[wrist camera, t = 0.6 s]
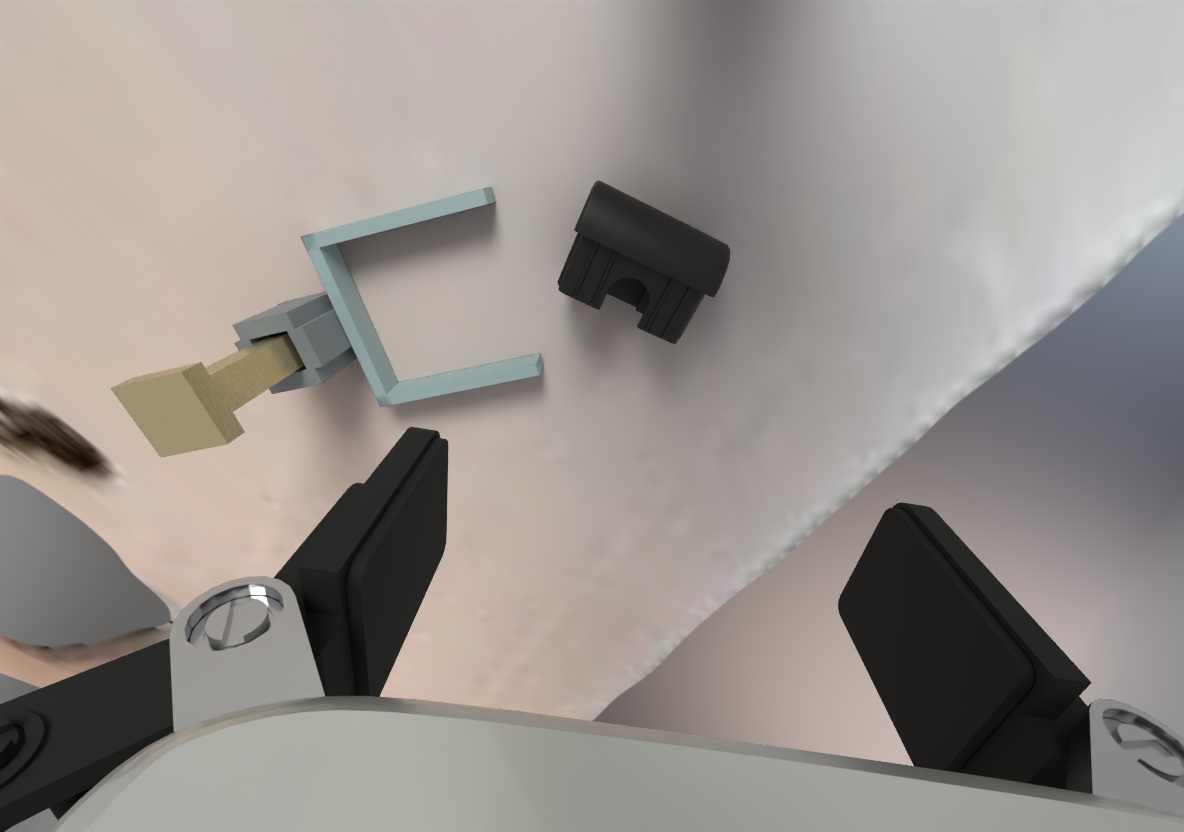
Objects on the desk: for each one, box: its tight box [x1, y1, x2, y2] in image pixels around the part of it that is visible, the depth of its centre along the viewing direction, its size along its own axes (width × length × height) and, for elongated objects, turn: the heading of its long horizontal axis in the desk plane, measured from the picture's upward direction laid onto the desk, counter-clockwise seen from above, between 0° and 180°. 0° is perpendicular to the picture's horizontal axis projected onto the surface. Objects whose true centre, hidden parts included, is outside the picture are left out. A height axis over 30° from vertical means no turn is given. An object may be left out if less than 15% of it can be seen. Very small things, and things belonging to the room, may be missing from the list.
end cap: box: [558, 181, 730, 344], centre depth 35 cm, size 10×7×7 cm
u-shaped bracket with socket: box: [233, 187, 543, 407], centre depth 37 cm, size 14×20×7 cm
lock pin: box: [111, 333, 304, 457], centre depth 31 cm, size 4×4×10 cm
